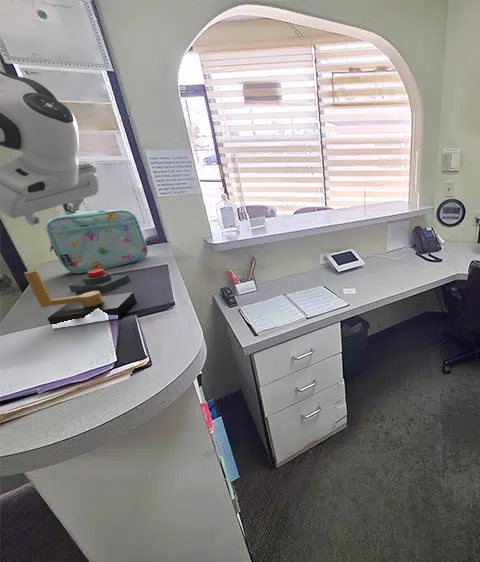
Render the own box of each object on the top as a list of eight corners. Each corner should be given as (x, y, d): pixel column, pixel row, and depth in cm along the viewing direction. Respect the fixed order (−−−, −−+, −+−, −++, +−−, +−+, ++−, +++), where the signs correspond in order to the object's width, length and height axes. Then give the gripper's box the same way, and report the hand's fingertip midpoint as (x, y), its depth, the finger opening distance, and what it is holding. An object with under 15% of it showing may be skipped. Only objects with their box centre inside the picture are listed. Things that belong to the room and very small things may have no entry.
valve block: (53, 329, 73) (47, 318, 72) (76, 311, 82) (71, 300, 81) (122, 318, 77) (117, 307, 76) (137, 302, 86) (133, 292, 85)
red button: (85, 278, 95) (83, 273, 95) (98, 273, 99) (95, 268, 98) (97, 278, 95) (95, 273, 94) (109, 273, 99) (107, 268, 98)
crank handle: (38, 314, 74) (18, 275, 70) (49, 307, 77) (30, 269, 74) (99, 305, 77) (83, 267, 73) (106, 299, 81) (91, 262, 77)
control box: (71, 292, 95) (65, 280, 93) (98, 280, 103) (94, 269, 102) (105, 292, 93) (100, 280, 92) (130, 281, 102) (126, 269, 100)
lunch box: (62, 279, 106) (33, 217, 98) (60, 272, 112) (33, 213, 104) (153, 259, 123) (135, 205, 115) (146, 255, 130) (129, 203, 122)
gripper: (84, 154, 79) (83, 196, 87) (-18, 171, 62) (-8, 222, 70) (107, 169, 80) (104, 210, 87) (12, 190, 63) (19, 239, 71)
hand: (53, 216), depth 78 cm, fingers open, 8 cm apart
